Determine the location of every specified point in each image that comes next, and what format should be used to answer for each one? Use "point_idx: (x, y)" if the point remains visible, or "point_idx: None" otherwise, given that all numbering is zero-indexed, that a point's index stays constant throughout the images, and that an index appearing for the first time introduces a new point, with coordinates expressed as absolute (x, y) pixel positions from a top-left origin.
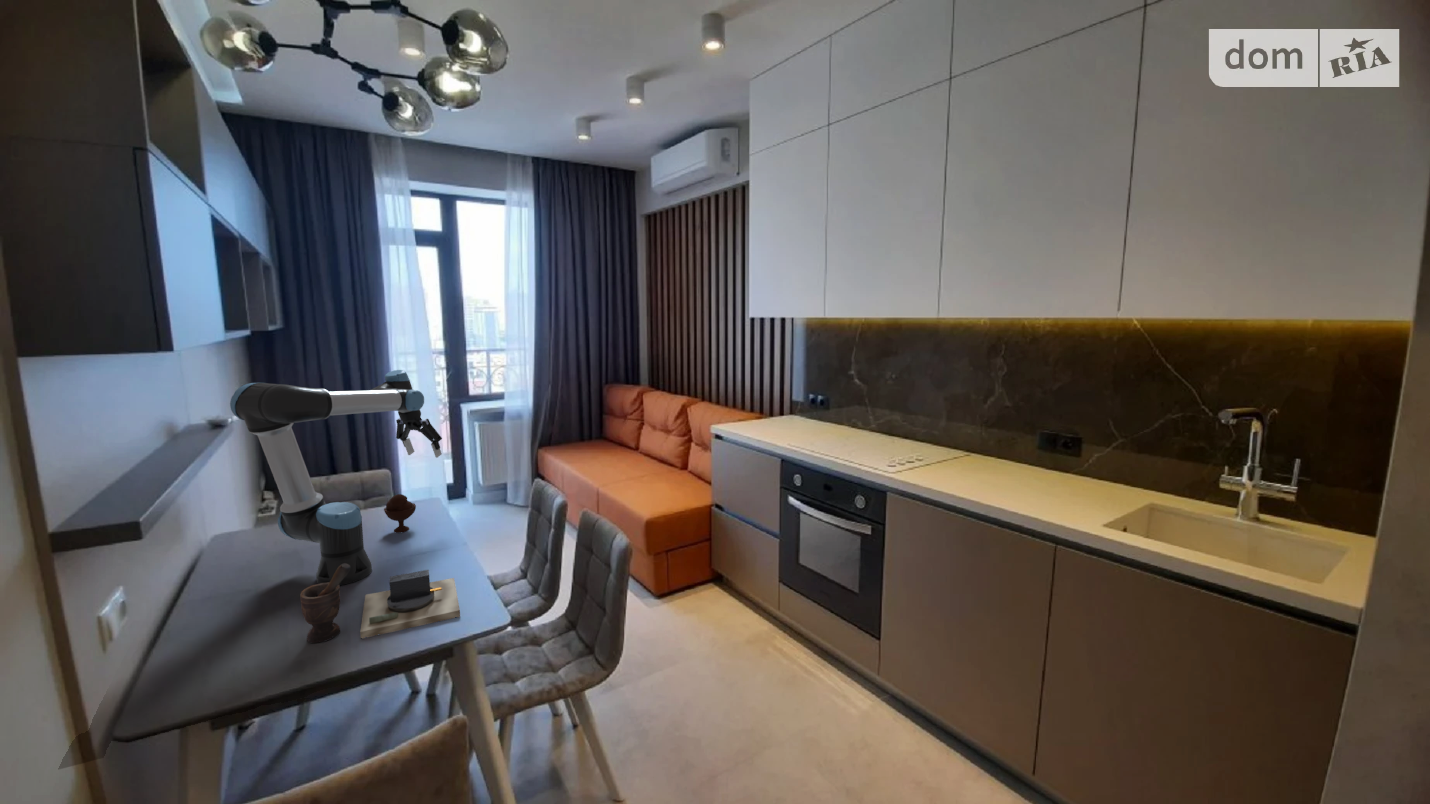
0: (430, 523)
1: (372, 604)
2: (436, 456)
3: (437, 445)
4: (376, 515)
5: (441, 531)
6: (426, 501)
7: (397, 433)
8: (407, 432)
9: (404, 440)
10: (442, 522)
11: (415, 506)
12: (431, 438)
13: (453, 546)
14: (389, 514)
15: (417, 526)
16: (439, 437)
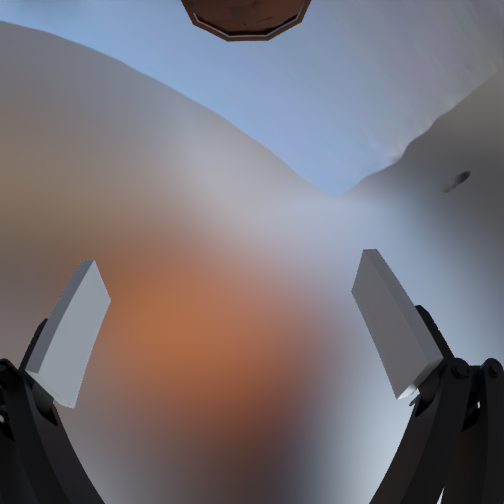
0: (200, 62)
1: None
2: (80, 266)
3: (30, 354)
4: (405, 84)
5: (116, 38)
6: (339, 188)
7: (502, 424)
8: (392, 495)
9: (432, 369)
10: (172, 82)
11: (192, 20)
12: (15, 425)
13: (22, 15)
14: None
15: None
16: (5, 419)
